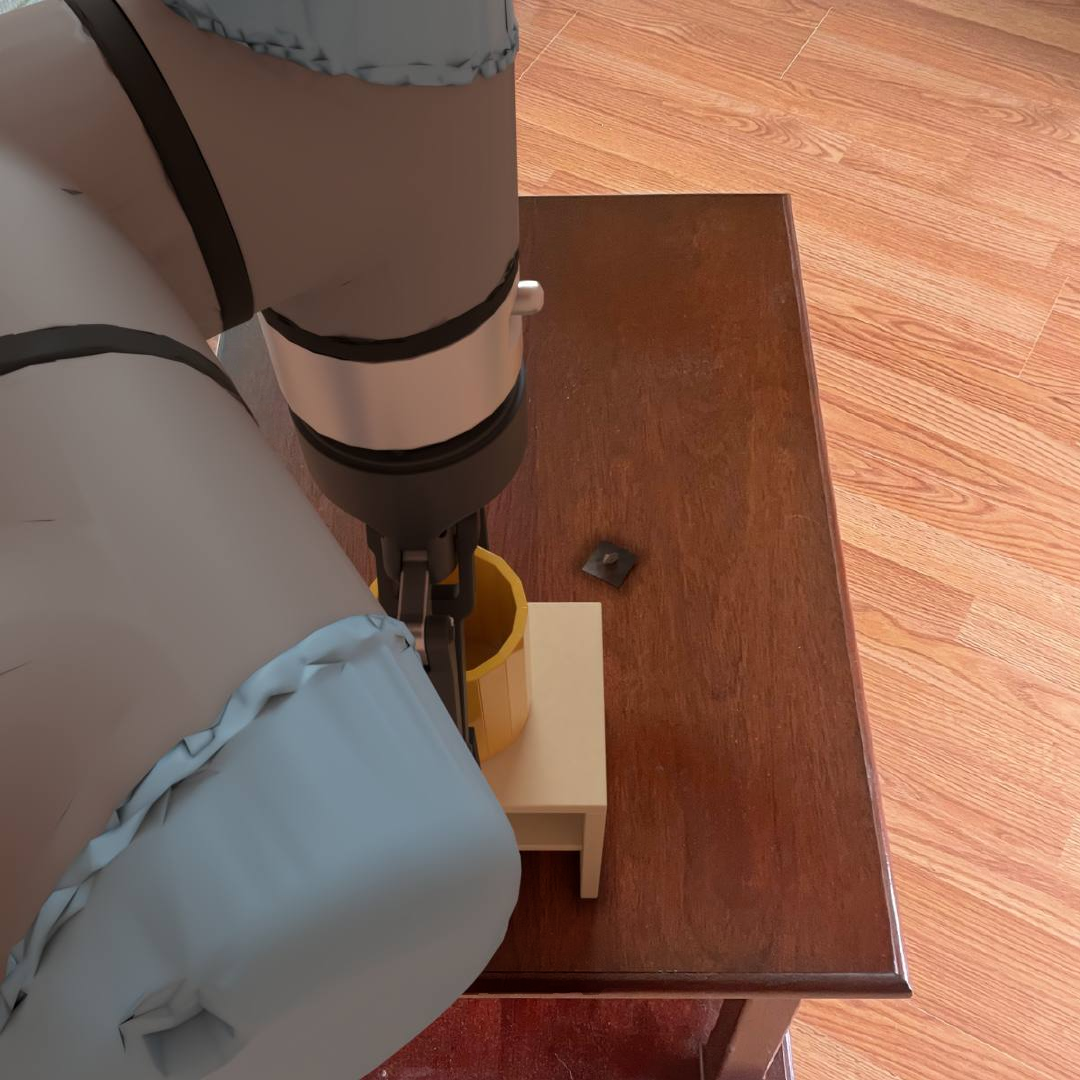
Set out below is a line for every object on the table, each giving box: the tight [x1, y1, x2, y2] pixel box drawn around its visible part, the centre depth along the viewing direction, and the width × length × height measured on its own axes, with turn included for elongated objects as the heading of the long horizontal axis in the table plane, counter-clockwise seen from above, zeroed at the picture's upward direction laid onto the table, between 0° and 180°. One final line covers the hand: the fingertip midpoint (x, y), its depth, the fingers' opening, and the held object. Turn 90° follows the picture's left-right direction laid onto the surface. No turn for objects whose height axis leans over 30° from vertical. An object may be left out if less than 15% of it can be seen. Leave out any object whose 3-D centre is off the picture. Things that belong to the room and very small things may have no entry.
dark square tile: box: [581, 539, 639, 588], centre depth 77 cm, size 3×3×1 cm
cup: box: [369, 546, 532, 762], centre depth 51 cm, size 7×7×9 cm
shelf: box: [480, 601, 608, 899], centre depth 61 cm, size 14×11×16 cm
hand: (459, 677), depth 53 cm, fingers open, 11 cm apart
